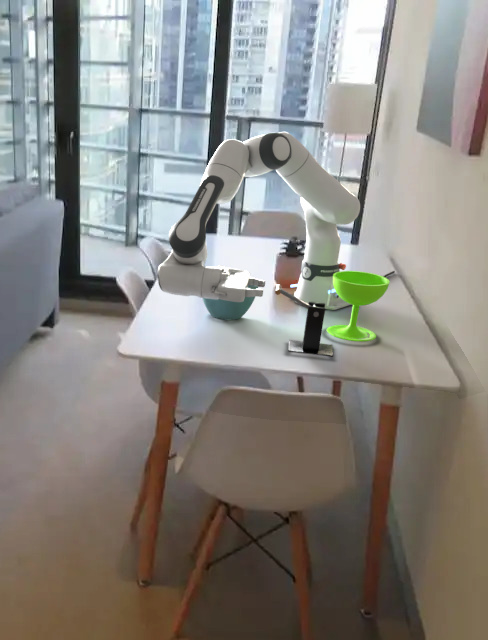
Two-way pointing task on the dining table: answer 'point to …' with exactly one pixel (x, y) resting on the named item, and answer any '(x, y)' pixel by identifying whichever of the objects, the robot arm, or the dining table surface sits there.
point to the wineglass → (357, 300)
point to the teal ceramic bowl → (229, 307)
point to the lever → (291, 296)
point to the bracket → (312, 333)
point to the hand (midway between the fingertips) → (264, 288)
